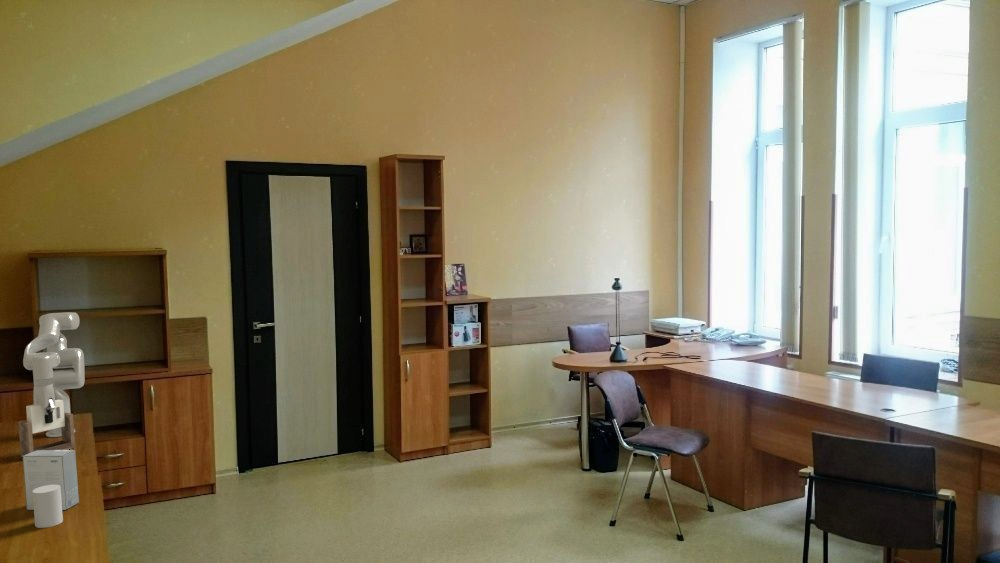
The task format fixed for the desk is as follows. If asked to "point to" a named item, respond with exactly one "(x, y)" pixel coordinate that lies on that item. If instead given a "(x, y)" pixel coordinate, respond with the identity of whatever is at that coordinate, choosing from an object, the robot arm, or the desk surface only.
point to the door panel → (38, 417)
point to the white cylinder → (47, 506)
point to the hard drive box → (51, 474)
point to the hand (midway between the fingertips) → (46, 422)
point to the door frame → (65, 444)
